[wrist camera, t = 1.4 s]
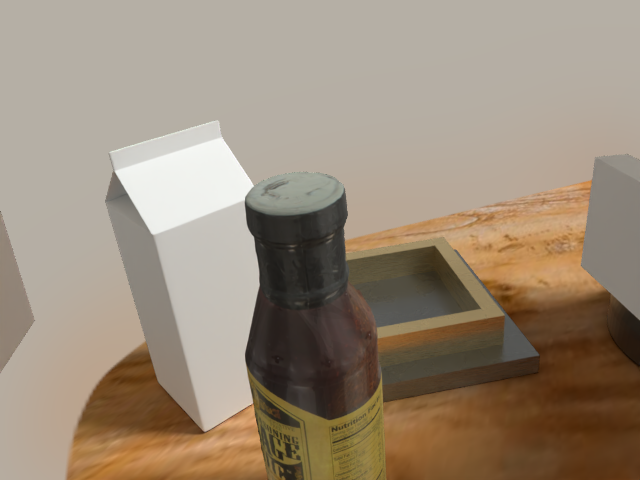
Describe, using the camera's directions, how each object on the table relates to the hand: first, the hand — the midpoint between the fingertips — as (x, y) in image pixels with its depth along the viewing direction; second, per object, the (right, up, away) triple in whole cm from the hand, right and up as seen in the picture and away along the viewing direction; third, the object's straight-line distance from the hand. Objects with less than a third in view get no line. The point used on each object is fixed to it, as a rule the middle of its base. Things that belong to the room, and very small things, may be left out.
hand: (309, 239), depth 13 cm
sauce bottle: (+1, -16, +20) cm, 25 cm away
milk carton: (-7, -11, +31) cm, 33 cm away
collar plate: (+6, -7, +34) cm, 36 cm away
